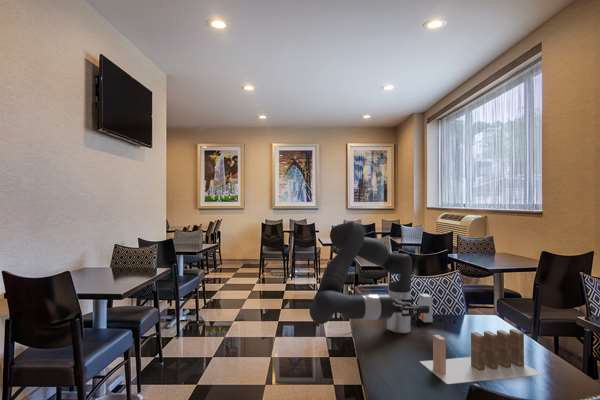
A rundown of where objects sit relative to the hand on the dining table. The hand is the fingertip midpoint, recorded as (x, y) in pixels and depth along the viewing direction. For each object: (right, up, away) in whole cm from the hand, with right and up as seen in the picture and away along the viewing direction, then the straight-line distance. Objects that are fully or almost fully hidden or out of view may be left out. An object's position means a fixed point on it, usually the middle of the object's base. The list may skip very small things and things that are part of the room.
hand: (420, 305), depth 114 cm
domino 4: (+35, -22, +8) cm, 42 cm away
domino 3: (+30, -22, +7) cm, 38 cm away
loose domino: (+7, -22, +2) cm, 23 cm away
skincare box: (+21, -24, +56) cm, 64 cm away
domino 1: (+20, -22, +5) cm, 30 cm away
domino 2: (+25, -22, +6) cm, 34 cm away
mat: (+21, -22, +5) cm, 31 cm away
